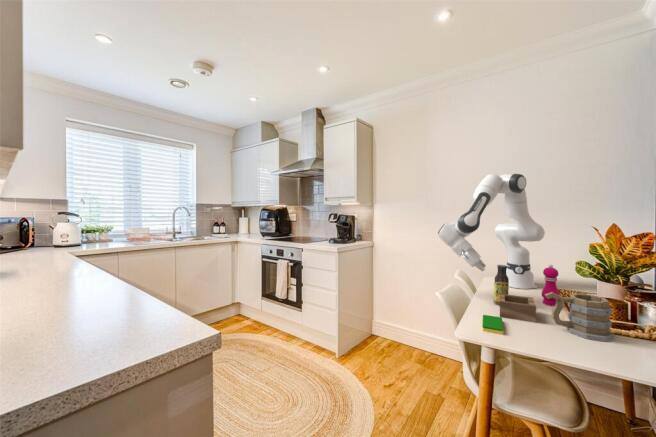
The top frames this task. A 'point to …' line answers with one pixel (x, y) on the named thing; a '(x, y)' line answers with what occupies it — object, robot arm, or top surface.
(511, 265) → the robot arm
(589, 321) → the tankard
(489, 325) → the dish sponge
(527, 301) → the socket
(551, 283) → the pepper mill
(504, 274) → the sauce bottle
